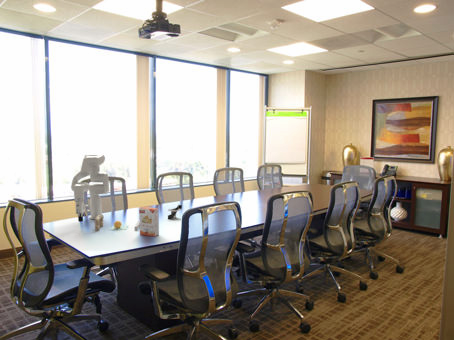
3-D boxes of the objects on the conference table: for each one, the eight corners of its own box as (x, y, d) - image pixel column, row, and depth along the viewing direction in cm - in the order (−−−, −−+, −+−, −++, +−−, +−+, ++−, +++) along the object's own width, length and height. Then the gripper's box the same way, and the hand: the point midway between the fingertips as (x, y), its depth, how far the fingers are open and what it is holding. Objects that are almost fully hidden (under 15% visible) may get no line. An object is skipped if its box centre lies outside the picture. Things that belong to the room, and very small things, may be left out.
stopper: (138, 224, 313) (138, 220, 313) (140, 224, 314) (140, 220, 313) (134, 230, 294) (134, 226, 293) (137, 230, 294) (137, 226, 293)
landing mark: (112, 226, 308) (112, 225, 308) (128, 225, 309) (128, 225, 309) (109, 229, 295) (109, 229, 295) (126, 229, 296) (126, 229, 296)
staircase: (167, 219, 334) (167, 206, 333) (174, 217, 343) (174, 204, 342) (175, 220, 330) (175, 207, 329) (182, 218, 339) (181, 205, 338)
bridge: (95, 230, 293) (94, 218, 292) (99, 226, 308) (99, 214, 307) (99, 230, 293) (98, 218, 292) (103, 226, 308) (103, 214, 307)
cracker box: (139, 234, 280) (138, 207, 278) (144, 232, 286) (143, 206, 284) (154, 236, 274) (154, 209, 272) (159, 234, 280) (158, 207, 278)
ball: (123, 226, 304) (116, 228, 303) (120, 219, 304) (113, 222, 303) (121, 227, 298) (114, 229, 297) (119, 220, 298) (112, 223, 297)
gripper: (81, 201, 290) (82, 223, 293) (86, 197, 305) (87, 218, 307) (71, 201, 289) (73, 224, 292) (77, 197, 304) (78, 219, 306)
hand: (80, 221), depth 299 cm, fingers closed
